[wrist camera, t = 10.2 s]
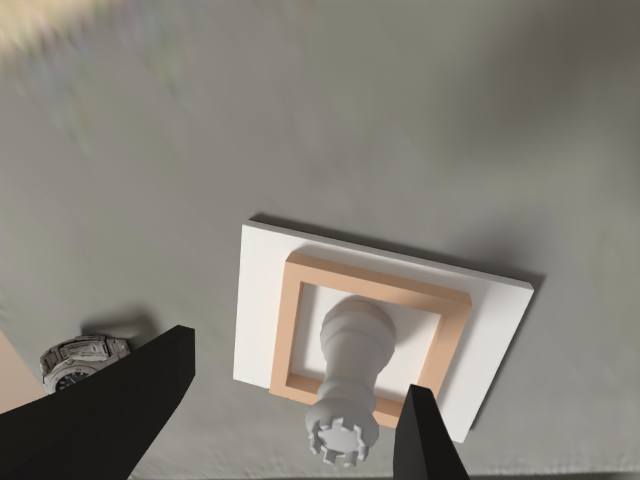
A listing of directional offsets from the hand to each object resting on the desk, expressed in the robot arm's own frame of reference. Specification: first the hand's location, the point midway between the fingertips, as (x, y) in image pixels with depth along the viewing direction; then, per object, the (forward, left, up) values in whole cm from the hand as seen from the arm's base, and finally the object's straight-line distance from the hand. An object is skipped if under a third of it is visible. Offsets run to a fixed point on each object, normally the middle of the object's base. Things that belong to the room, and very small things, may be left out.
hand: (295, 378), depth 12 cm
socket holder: (-2, +6, -10) cm, 12 cm away
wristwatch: (+17, +13, -11) cm, 24 cm away
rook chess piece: (-2, +5, -10) cm, 11 cm away
